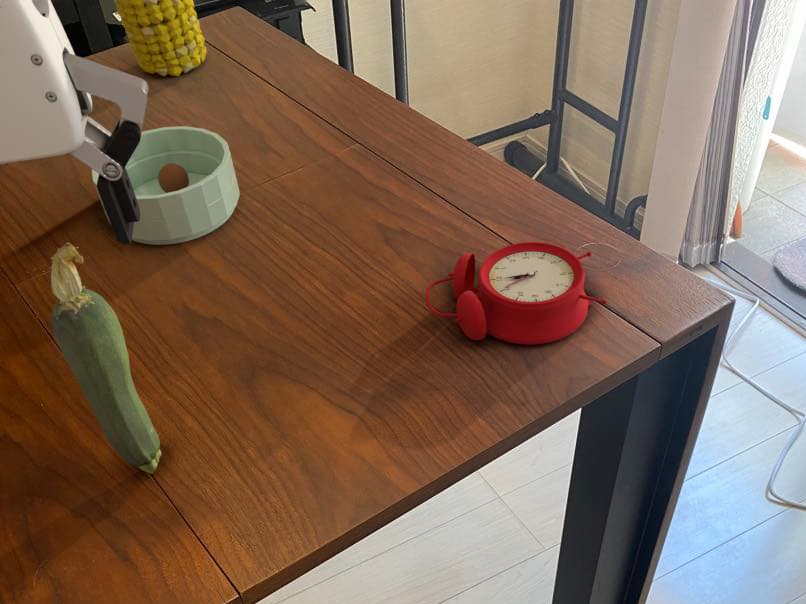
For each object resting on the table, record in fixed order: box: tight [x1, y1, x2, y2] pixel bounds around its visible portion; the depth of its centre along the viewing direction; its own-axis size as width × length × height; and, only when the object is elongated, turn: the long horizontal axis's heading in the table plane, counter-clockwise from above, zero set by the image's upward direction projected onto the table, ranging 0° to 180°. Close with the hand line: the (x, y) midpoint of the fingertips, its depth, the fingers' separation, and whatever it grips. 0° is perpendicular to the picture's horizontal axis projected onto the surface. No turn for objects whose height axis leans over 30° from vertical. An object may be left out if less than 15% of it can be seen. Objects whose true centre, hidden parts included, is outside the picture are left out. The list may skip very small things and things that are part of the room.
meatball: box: [158, 163, 189, 193], centre depth 90 cm, size 3×3×3 cm
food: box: [113, 0, 208, 77], centre depth 107 cm, size 15×12×10 cm
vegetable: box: [50, 242, 162, 474], centre depth 60 cm, size 4×4×20 cm
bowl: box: [91, 125, 241, 246], centre depth 89 cm, size 14×14×6 cm
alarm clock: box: [425, 241, 607, 345], centre depth 75 cm, size 10×6×15 cm
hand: (50, 242), depth 52 cm, fingers open, 9 cm apart
